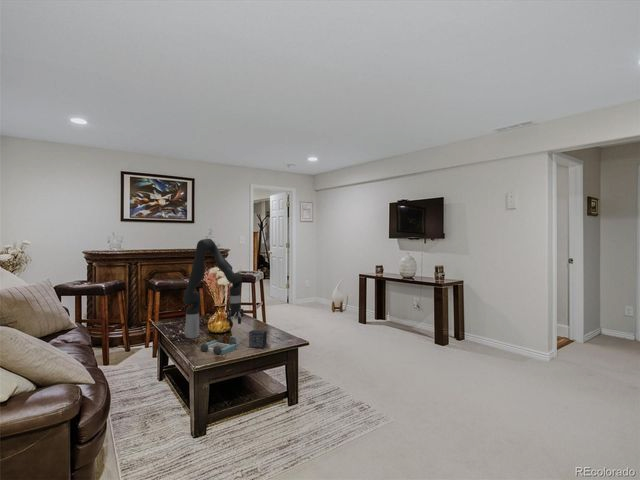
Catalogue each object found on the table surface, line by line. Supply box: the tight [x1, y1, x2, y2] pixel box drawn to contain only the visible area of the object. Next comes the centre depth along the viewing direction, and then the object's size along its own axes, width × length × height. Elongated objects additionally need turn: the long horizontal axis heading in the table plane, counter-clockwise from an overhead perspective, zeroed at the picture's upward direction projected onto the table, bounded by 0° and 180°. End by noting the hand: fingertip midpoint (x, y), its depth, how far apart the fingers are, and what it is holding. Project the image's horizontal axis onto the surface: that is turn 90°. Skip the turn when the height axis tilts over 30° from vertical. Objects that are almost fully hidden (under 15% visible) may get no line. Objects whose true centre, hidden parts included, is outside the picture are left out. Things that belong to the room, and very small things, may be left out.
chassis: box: [199, 337, 238, 356], centre depth 231 cm, size 20×16×5 cm
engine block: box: [229, 334, 242, 346], centre depth 244 cm, size 6×4×5 cm
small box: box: [248, 329, 268, 350], centre depth 237 cm, size 11×6×10 cm, turn 77°
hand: (235, 325), depth 243 cm, fingers open, 8 cm apart
